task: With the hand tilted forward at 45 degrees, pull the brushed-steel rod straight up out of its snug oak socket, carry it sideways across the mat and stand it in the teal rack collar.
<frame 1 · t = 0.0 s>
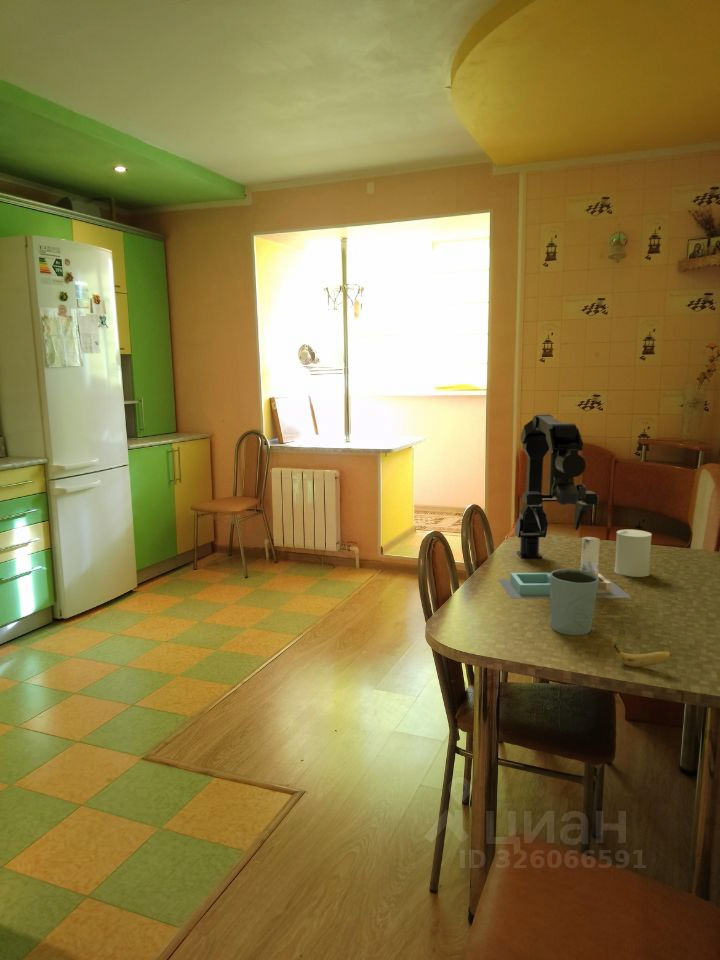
hand: (558, 530, 175), 15 cm above the table, tool pointing down, fingers open, 9 cm apart
banana: (640, 668, 126), on the table
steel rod: (589, 563, 172), in the socket block, touching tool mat
rack collar: (534, 587, 173), resting on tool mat
socket block: (588, 587, 173), resting on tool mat
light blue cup: (571, 628, 146), on the table
can: (631, 573, 186), on the table
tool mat: (561, 589, 172), on the table
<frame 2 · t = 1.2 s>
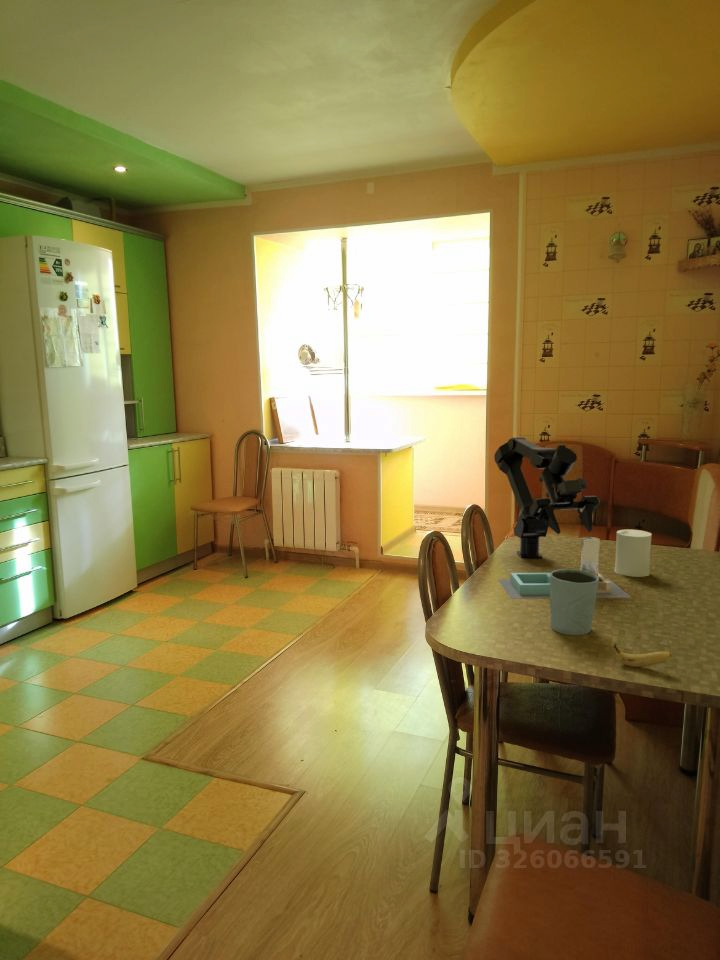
hand: (574, 532, 178), 13 cm above the table, tool tilted 45°, fingers open, 9 cm apart
nothing on the table moved.
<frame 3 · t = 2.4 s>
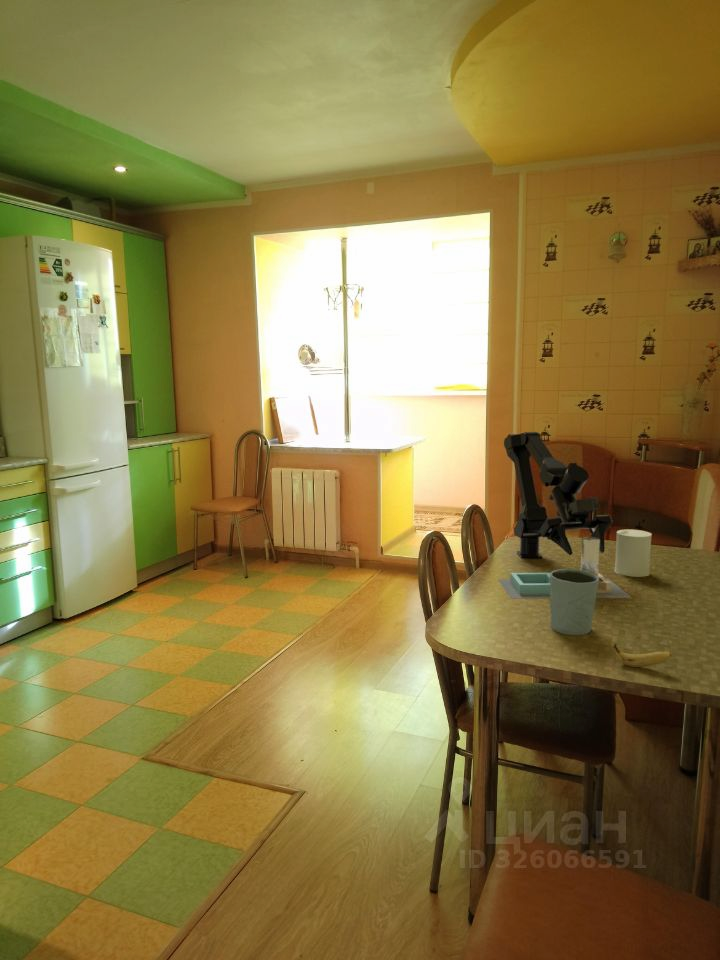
hand: (587, 553, 172), 9 cm above the table, tool tilted 45°, fingers open, 9 cm apart
nothing on the table moved.
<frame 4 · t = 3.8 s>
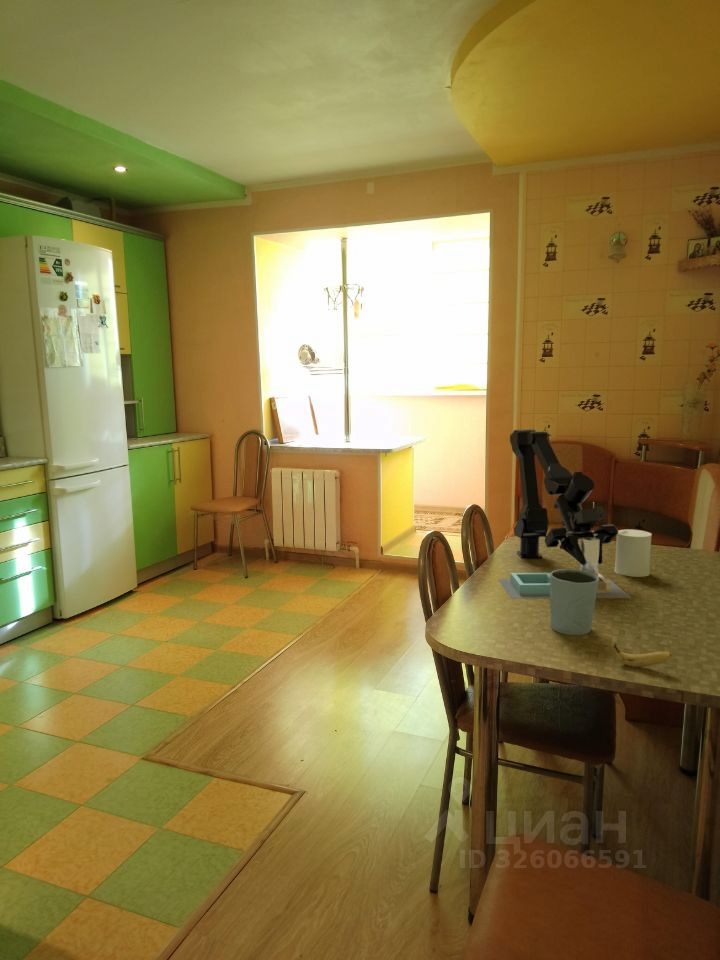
hand: (592, 563, 170), 7 cm above the table, tool tilted 45°, fingers closed on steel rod, 4 cm apart
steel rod: (589, 563, 172), in the socket block, touching gripper, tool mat
everything else where it was.
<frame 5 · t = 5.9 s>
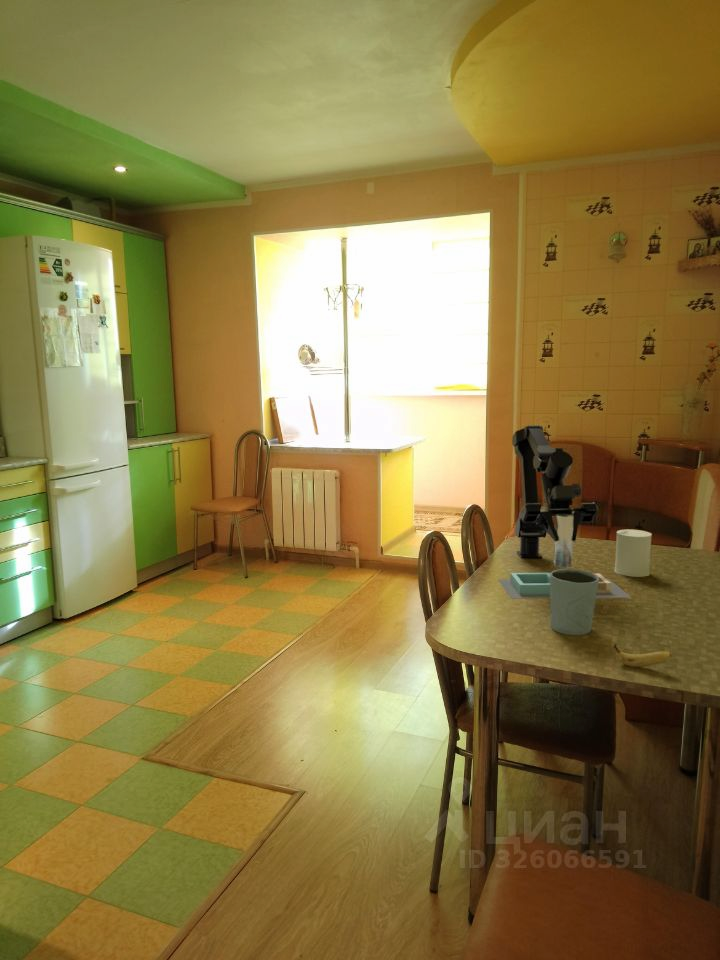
hand: (565, 540, 169), 13 cm above the table, tool tilted 45°, fingers closed on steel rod, 4 cm apart
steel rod: (563, 540, 170), point 13 cm above the table, touching gripper
everything else where it was.
when the fingers open (8 cm above the table, at t = 7.9 s): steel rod drops 1 cm, resting on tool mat.
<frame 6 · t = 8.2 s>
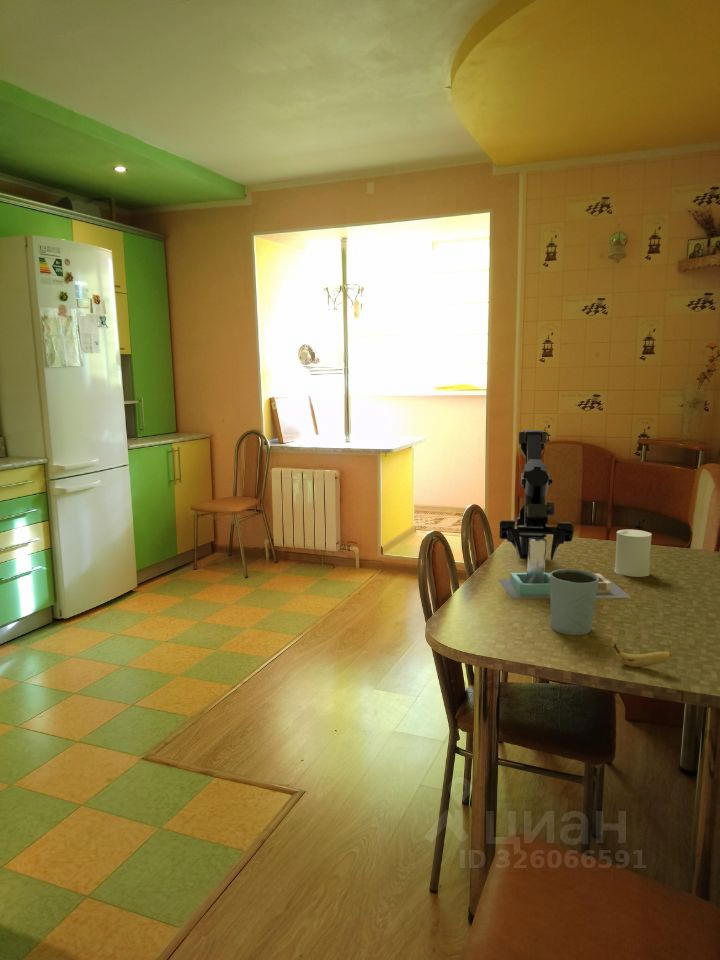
hand: (536, 558, 170), 9 cm above the table, tool tilted 45°, fingers open, 7 cm apart
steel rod: (536, 563, 171), in the rack collar, touching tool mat
everything else where it was.
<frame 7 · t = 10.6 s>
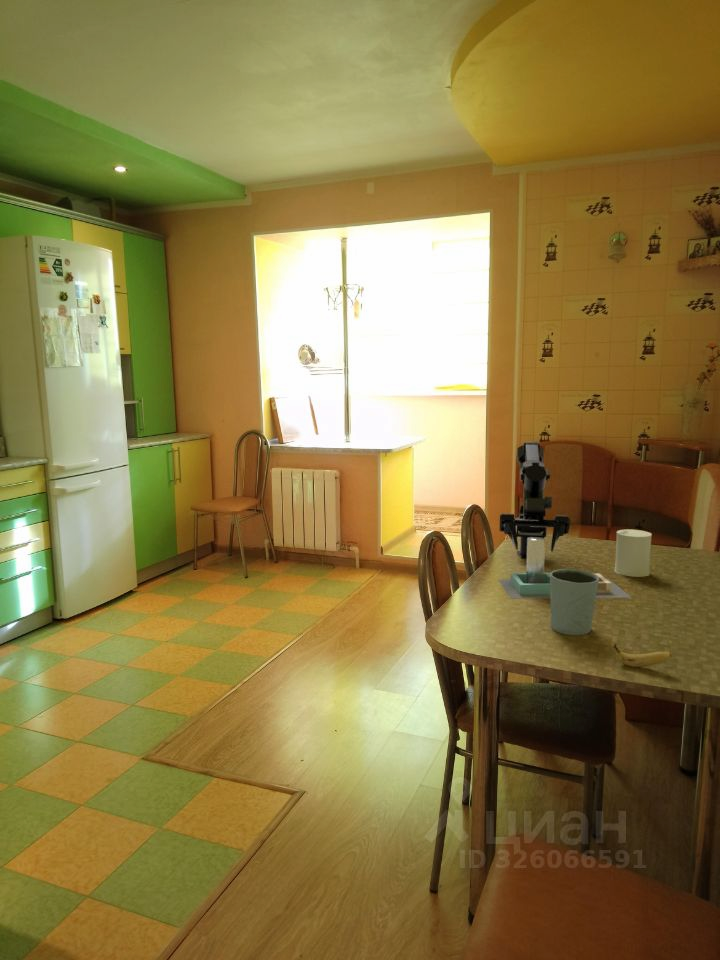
hand: (534, 550, 179), 8 cm above the table, tool tilted 45°, fingers open, 9 cm apart
nothing on the table moved.
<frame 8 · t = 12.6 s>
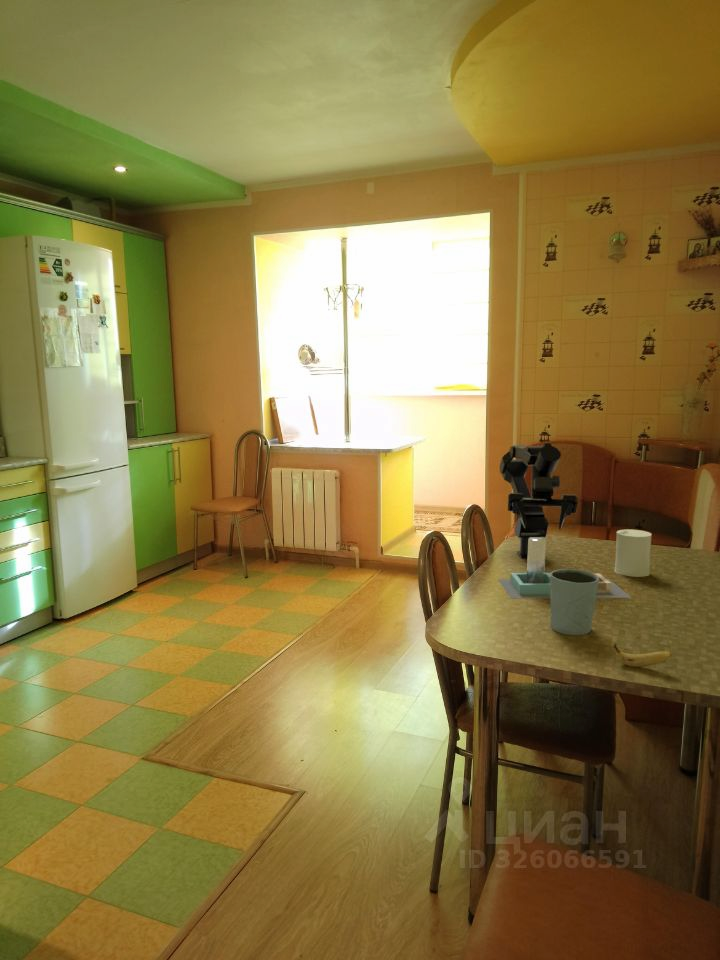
hand: (542, 528, 182), 14 cm above the table, tool tilted 45°, fingers open, 9 cm apart
nothing on the table moved.
at the end: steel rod 0.1 cm from the target spot, resting on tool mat; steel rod tilted 2°; the gripper is holding nothing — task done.
